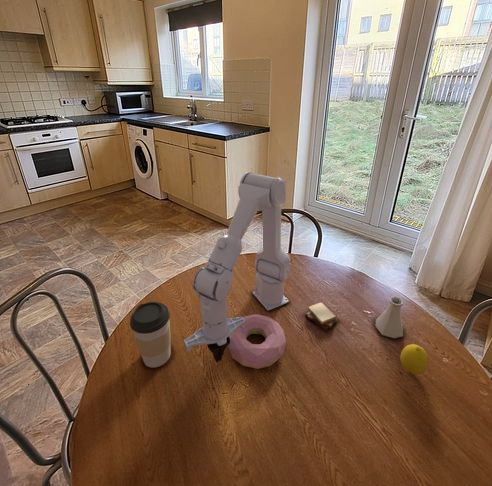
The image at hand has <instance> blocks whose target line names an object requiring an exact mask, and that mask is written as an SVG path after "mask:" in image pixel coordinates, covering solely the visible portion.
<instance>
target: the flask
mask: <svg viewBox="0 0 492 486" xmlns="http://www.w3.org/2000/svg"><path fill="white" fill-rule="evenodd" d="M403 301H404V300H402V299H401V298H400V297H397V296H391V297H390V296H389V305H387V308H386V309H385V310H384V311H383V312H382V313H381V314H380V315H379V316H377V318H376V319H375V328H376V329H377V331H379V333H380V334H381V335H382V336H384V337H388V338H392V339H397V338H402V337H404V327H403V323H402V318H401V307H402V306H404V302H403Z"/></svg>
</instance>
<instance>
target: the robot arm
mask: <svg viewBox="0 0 492 486" xmlns="http://www.w3.org/2000/svg"><path fill="white" fill-rule="evenodd" d="M286 183H287V182H286V181H285V180H284V179H283V178H281V177H274V176H268V175H264V174H258V173H254V172H250V171H247V172H245V173H244V174H243V176H242V177H241V178H240V181H239V184H238V187H237V188H238V190H237V191H238V198H239V200H238V202H237V205H236V207H235V211H234V213H233V216H232V218H231V221H230V223H229V226H228V229H227V231H226V233H225V234H224V235H220V236H219V237H218V239H217V241H216V243H215V245H214V247H213V249H212V252H211V254H210V255H209V257H208V260H207V261H206V264H205V265H204V266H202V267H200V268H199V269H198V270H197V272H196V274H195V275H194V278H193V284H192V285H191V286H192V289H193V291H194V292H196V294H197V298H199V302H200V313H201V321H202V322H201V324H202V326H201V327H200V328H199V329H198V330H196V331H195V332H194V333H193V334H191V335H190V336H189V337H187V338H184V339H183V343H184V348H185V350H186V352H187V353H189V352H192V349H193V348H195V347H199V346H204V345H206V346H207V348H208V350H209V351H210V352H211V353H212V357H213V359H214V361H215V363H218V362H221V361H222V360H223V356H224V354H225V352H226V349H227V348H228V345H229V344H230V337H229V335H231V334H232V333H233V332H234V331H235V330H236V329H237V328H239V327H240V328H244V327H245V320H244V319H243V318H242V317H243V316H242V315H240V316H237V317H231V318H230V317H229V318H228V298H227V297H228V295H229V293H230V291H231V289H232V286H233V278H234V276H235V275H234V272H233V271H234V269H235V266H236V264H237V262H238V260H239V258H240V256H241V253H242V252H243V244H242V240H243V238H244V236H245V234H246V232H247V231H248V229H249V227H250V225H251V224H252V222H253V220H254V218H255V217H256V214H257V213H258V212H260V211H261V215H262V217H261V219H262V247H261V248H260V249H259V250H258V251H257V253H256V254H255V256H256V257H255V260H254V270H255V272H256V273H255V276H254V290H253V291H252V295H253V296H254V297H255V298H256V299H257V300H258V301H259V303H260V304H261V305H262V306H263V307H264V308H265V309H266V311H271V310H274V309H276V308H279V307H281V306H283V305H286V304H288V303H289V302H290V301H289V299H288V298H287V297H286V296H285V295H284V289H285V288H284V287H285V281H287V280H288V278H289V277H290V274H291V271H292V263H291V258H290V255H289V254H288V253H287V252H286V251H285V250H284V249H282V248H281V247H282V204H286V199H287V196H286V195H287V194H286V193H287V184H286Z"/></svg>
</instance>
